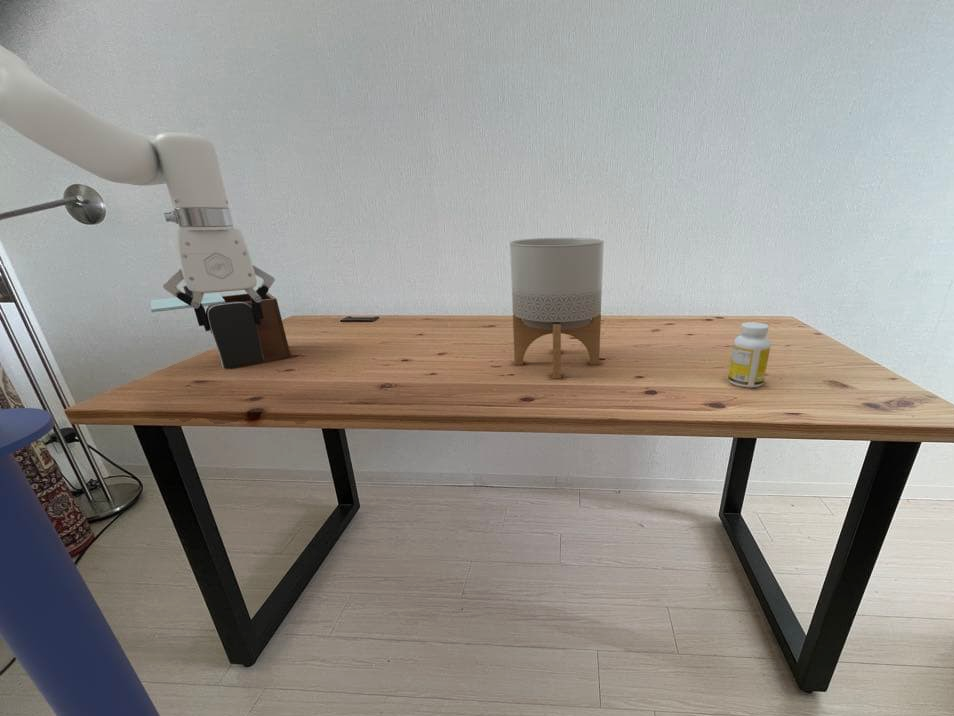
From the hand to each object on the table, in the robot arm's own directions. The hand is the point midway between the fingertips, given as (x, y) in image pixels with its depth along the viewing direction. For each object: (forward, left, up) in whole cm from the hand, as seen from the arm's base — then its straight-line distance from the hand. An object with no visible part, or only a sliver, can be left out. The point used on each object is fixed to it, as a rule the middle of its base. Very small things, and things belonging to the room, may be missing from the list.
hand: (233, 325), depth 82 cm
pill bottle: (+78, -56, -14) cm, 97 cm away
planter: (+57, -23, -14) cm, 63 cm away
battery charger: (0, 0, -7) cm, 7 cm away
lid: (-5, +28, +1) cm, 28 cm away
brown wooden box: (+5, +28, -14) cm, 31 cm away
